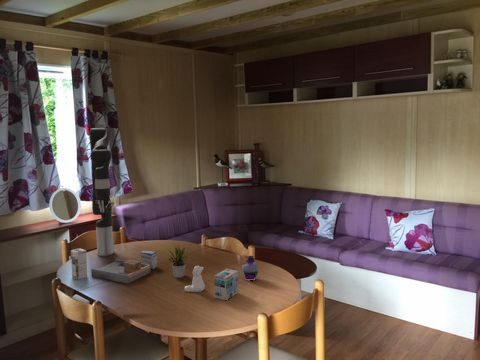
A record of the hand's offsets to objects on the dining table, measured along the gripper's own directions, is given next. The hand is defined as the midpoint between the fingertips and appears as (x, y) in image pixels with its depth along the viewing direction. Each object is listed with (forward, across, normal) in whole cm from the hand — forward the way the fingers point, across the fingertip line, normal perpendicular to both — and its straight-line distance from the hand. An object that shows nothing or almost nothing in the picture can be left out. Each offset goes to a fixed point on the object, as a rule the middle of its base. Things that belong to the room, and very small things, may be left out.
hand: (104, 218), depth 235 cm
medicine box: (+27, -21, -10) cm, 36 cm away
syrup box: (+27, +1, +18) cm, 33 cm away
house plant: (+27, -45, -6) cm, 53 cm away
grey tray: (+27, -15, +5) cm, 31 cm away
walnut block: (+24, -22, +5) cm, 33 cm away
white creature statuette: (+27, -62, +6) cm, 68 cm away
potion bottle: (+27, -79, -17) cm, 85 cm away
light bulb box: (+27, -78, +6) cm, 83 cm away
